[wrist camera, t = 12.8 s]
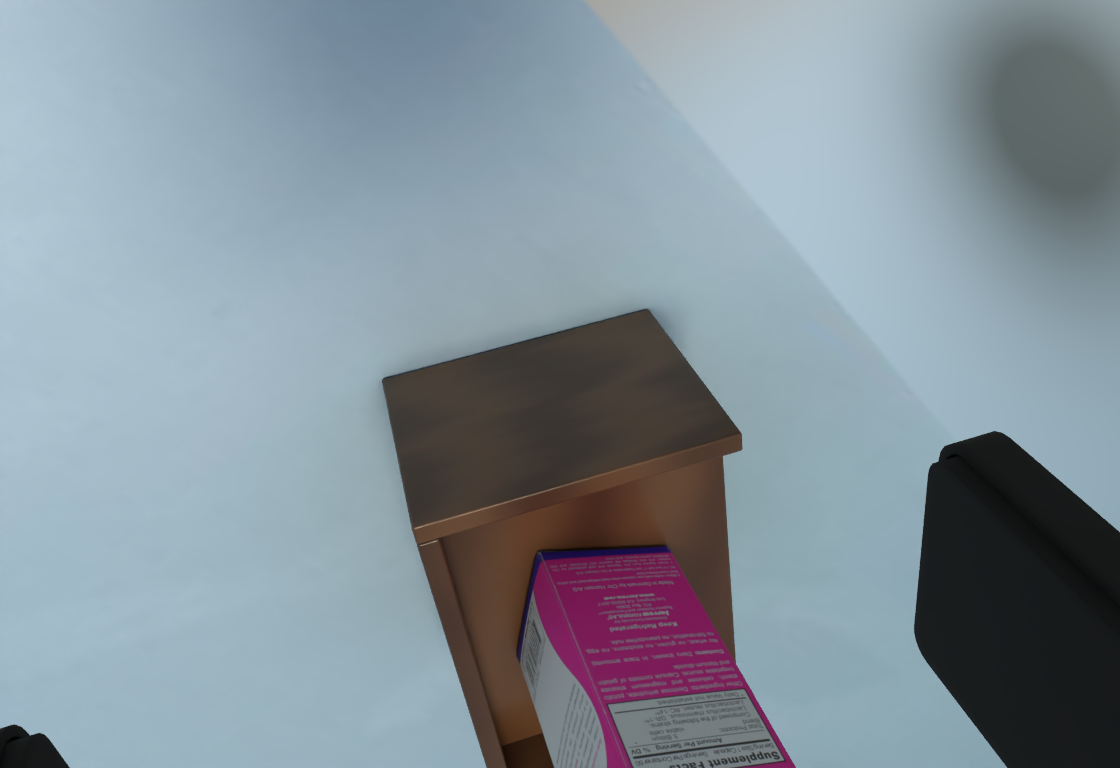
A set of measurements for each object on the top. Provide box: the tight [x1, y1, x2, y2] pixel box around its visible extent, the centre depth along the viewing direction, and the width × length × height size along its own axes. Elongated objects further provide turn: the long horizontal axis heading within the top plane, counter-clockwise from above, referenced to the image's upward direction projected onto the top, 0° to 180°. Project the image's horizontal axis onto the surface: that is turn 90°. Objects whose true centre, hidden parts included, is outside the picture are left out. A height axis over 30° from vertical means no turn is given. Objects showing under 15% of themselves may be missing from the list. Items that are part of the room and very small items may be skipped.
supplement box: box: [516, 546, 796, 768], centre depth 34 cm, size 6×6×12 cm
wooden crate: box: [382, 309, 742, 768], centre depth 41 cm, size 12×16×10 cm
